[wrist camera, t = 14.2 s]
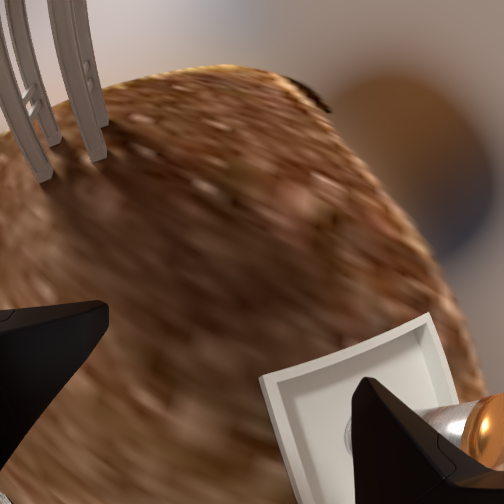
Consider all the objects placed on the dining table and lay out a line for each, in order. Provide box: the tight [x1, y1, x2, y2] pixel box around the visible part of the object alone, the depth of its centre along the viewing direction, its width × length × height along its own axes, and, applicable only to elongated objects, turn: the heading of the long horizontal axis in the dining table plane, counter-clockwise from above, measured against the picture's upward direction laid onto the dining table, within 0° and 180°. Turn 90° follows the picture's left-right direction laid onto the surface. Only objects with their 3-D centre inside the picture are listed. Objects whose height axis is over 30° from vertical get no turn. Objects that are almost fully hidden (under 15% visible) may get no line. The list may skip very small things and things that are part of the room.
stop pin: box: [344, 393, 504, 468], centre depth 12 cm, size 6×6×14 cm
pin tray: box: [258, 312, 459, 504], centre depth 17 cm, size 16×16×3 cm
